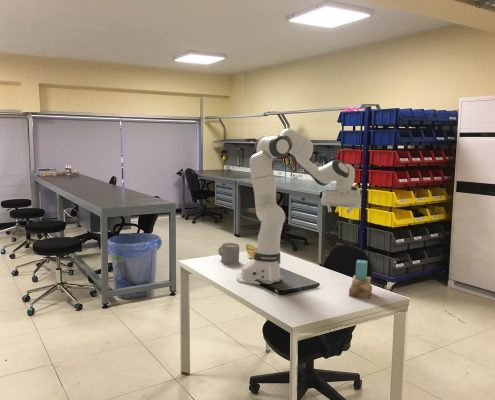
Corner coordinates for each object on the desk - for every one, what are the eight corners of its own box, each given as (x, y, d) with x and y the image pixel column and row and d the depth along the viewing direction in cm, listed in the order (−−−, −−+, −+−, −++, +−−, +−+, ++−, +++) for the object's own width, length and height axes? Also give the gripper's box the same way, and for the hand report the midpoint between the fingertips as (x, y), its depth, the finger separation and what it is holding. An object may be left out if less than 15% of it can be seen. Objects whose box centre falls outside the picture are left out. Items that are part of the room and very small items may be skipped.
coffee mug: (242, 262, 259) (243, 245, 258) (228, 265, 253) (229, 247, 251) (227, 257, 269) (228, 240, 268) (214, 260, 263) (214, 243, 261)
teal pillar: (355, 279, 209) (356, 262, 208) (356, 276, 214) (357, 259, 212) (365, 280, 208) (366, 263, 207) (366, 277, 212) (367, 260, 211)
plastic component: (279, 255, 268) (270, 251, 260) (275, 267, 267) (266, 263, 259) (253, 247, 281) (244, 242, 273) (249, 258, 279) (240, 254, 272)
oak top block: (351, 288, 208) (352, 280, 208) (352, 283, 216) (353, 275, 215) (370, 290, 206) (370, 282, 206) (370, 285, 214) (370, 277, 213)
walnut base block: (348, 296, 209) (349, 288, 208) (352, 291, 217) (352, 282, 217) (369, 300, 206) (369, 291, 205) (371, 293, 214) (372, 285, 213)
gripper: (322, 185, 240) (317, 206, 233) (362, 188, 233) (358, 210, 225) (324, 193, 245) (319, 214, 237) (363, 196, 238) (359, 217, 230)
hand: (338, 212), depth 231 cm, fingers open, 8 cm apart
